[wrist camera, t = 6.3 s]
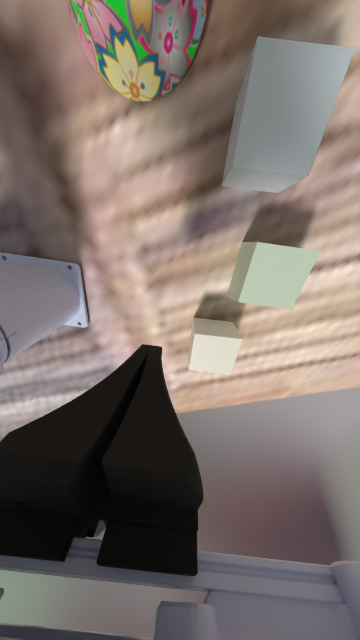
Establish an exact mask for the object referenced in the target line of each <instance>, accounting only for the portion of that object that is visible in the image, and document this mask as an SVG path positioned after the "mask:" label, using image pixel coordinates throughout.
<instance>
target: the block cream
mask: <svg viewBox="0 0 360 640" xmlns="http://www.w3.org/2000/svg"><path fill="white" fill-rule="evenodd" d="M242 340H243V339H242V337H241V335H240V334H239V332H238V330H237V328H236V326H235V325H234V323H233V322H228V321H219V320H211V319H202V318H194V319H193V325H192V331H191V337H190V343H189V370H197V371H206V372H214V373H223V374H231V372H232V369H233V366H234V363H235V360H236V357H237V354H238V351H239V348H240V346H241V343H242Z"/></svg>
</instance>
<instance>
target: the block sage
mask: <svg viewBox="0 0 360 640" xmlns="http://www.w3.org/2000/svg"><path fill="white" fill-rule="evenodd" d="M319 253H320V251H316V250H309V249H302V248H296V247H289V246H282V245H275V244H268V243H261V242H242V244H241V248H240V251H239V255H238V259H237V262H236V266H235V269H234V273H233V276H232V280H231V284H230V287H229V292H230V293H231V294H232V295H233V297H234V298H235V299H236V300H237V301H238V302H240V303H247V304H255V305H262V306H269V307H276V308H283V309H290V310H291V309H292V307H293V305H294V303H295V301H296V299H297V297H298V295H299V293H300V291H301V289H302V287H303V285H304V283H305V281H306V279H307V277H308V275H309V273H310V271H311V269H312V267H313V265H314V263H315V261H316V259H317V257H318V255H319Z"/></svg>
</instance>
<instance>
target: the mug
mask: <svg viewBox="0 0 360 640" xmlns="http://www.w3.org/2000/svg"><path fill="white" fill-rule="evenodd" d="M67 3H68V7H69V11H70V15H71V18H72V21H73V24H74V28H75V30H76V33H77V36H78V38H79V41H80V43H81V45H82V48H83V50H84V52H85V54H86V56H87V58H88V59H89V61H90V63H91V64H92V66H93V67H94V69H95V70H96V72H97V73H98V74H99V75H100V77H101V78H102V79H103V80H104V81H105V82H106V83H107V84H108V85H109V86H110V87H111V88H112V89H113V90H114V91H116V92H117V93H118V94H120V95H122V96H124V97H126V98H128V99H131V100H134V101H142V102H145V101H152V100H155V99H158V98H160V97H162V96H164V95H166V94H167V93H168V92H170V91H171V90H172V89H173V88H174V87H175V86H176V85H177V84H178V83H179V82H180V80H181V79H182V78H183V76H184V75H185V73H186V72H187V70H188V68H189V66H190V65H191V63H192V60H193V58H194V56H195V54H196V51H197V48H198V45H199V42H200V39H201V36H202V32H203V28H204V24H205V19H206V14H207V7H208V0H67Z"/></svg>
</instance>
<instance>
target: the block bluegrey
mask: <svg viewBox="0 0 360 640" xmlns="http://www.w3.org/2000/svg"><path fill="white" fill-rule="evenodd" d="M354 49H355V48H352V47H343V46H335V45H326V44H318V43H310V42H301V41H293V40H284V39H276V38H268V37H259V36H258V37H257V40H256V43H255V46H254V49H253V52H252V55H251V58H250V61H249V64H248V67H247V70H246V73H245V76H244V79H243V82H242V85H241V88H240V91H239V94H238V97H237V100H236V106H235V112H234V117H233V123H232V129H231V134H230V140H229V146H228V151H227V157H226V163H225V168H224V174H223V180H222V185H221V186H224V187H233V188H241V189H249V190H258V191H266V192H275V193H278V192H280V191H282V190H284V189H286V188H287V187H289V186H291V185H293V184H295V183H297V182H298V181H300V180H302V179H304V178H306V177H307V176H308V175H309V172H310V170H311V167H312V164H313V161H314V159H315V156H316V153H317V150H318V148H319V145H320V142H321V140H322V137H323V134H324V131H325V129H326V126H327V123H328V120H329V118H330V115H331V112H332V109H333V107H334V104H335V101H336V99H337V96H338V93H339V90H340V88H341V85H342V82H343V79H344V77H345V74H346V71H347V68H348V66H349V63H350V60H351V58H352V55H353V52H354Z"/></svg>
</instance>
